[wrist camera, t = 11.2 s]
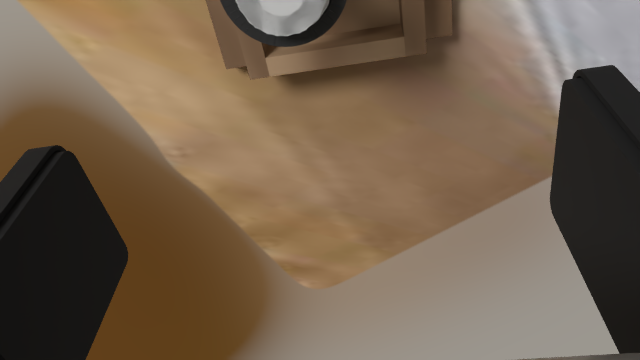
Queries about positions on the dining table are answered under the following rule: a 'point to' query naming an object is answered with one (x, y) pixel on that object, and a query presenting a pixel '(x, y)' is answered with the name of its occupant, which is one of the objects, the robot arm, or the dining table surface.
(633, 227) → the robot arm
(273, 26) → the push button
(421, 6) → the brown wooden divided tray
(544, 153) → the dining table surface
